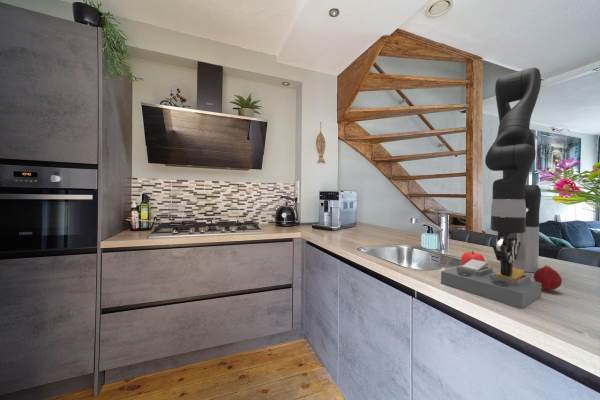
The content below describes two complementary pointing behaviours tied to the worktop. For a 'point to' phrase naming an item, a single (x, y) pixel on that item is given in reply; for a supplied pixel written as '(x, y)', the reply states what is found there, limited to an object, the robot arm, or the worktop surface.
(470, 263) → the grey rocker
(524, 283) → the grey flat block
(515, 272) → the amber rocker
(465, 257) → the apple
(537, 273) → the red rounded lump
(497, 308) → the worktop surface
